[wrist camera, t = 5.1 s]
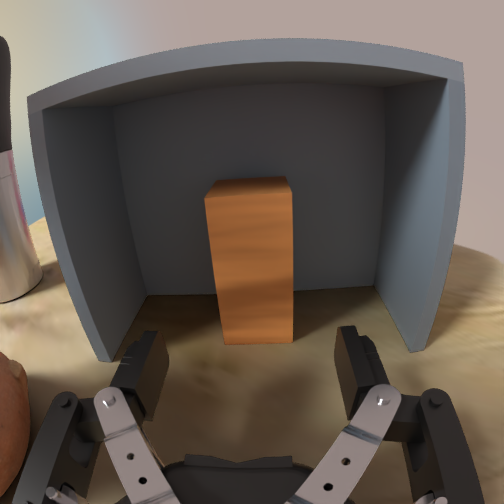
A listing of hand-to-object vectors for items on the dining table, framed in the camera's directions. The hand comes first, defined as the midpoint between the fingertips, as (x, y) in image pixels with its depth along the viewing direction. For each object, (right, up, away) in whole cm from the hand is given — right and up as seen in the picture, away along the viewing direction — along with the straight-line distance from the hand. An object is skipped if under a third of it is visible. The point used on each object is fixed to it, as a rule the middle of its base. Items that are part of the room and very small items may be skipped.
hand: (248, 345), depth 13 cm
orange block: (+1, -2, +11) cm, 11 cm away
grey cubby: (+1, -1, +11) cm, 11 cm away
